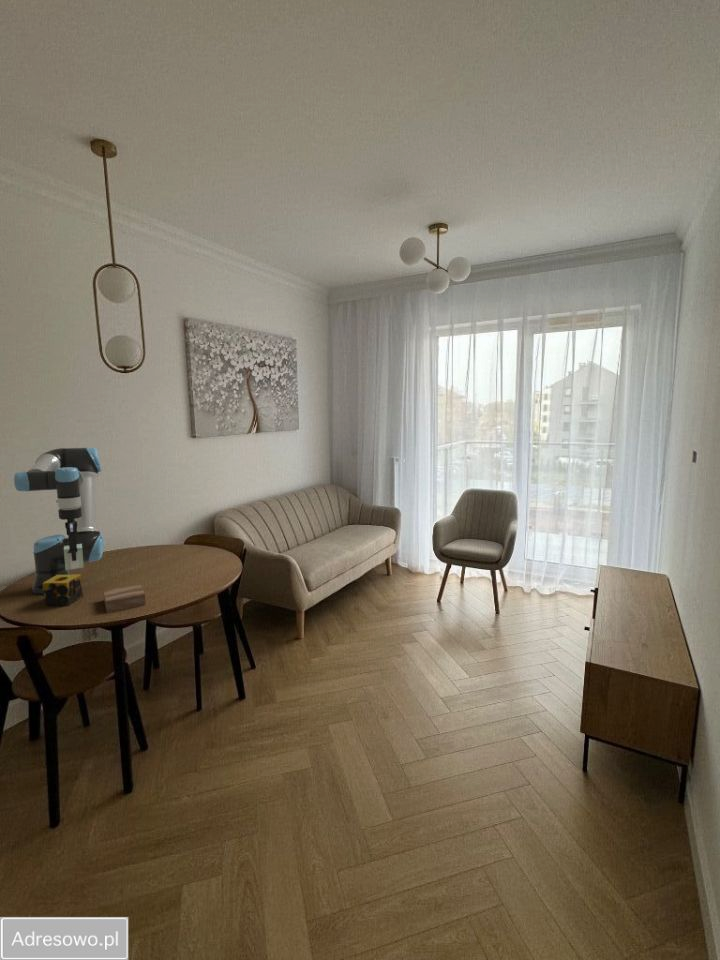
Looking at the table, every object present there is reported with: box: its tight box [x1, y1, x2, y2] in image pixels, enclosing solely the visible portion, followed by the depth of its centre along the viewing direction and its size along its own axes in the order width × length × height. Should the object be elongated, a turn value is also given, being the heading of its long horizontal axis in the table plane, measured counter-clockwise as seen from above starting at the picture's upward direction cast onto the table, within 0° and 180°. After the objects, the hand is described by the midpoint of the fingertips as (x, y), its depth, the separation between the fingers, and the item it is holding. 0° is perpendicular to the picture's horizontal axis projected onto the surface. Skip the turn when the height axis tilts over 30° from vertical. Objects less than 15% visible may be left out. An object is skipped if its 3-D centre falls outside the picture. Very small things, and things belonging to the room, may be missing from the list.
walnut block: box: [102, 583, 146, 613], centre depth 192 cm, size 14×14×5 cm
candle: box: [43, 573, 84, 606], centre depth 192 cm, size 10×10×10 cm
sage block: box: [64, 544, 85, 571], centre depth 180 cm, size 6×6×8 cm
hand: (74, 565), depth 180 cm, fingers closed on sage block, 6 cm apart
